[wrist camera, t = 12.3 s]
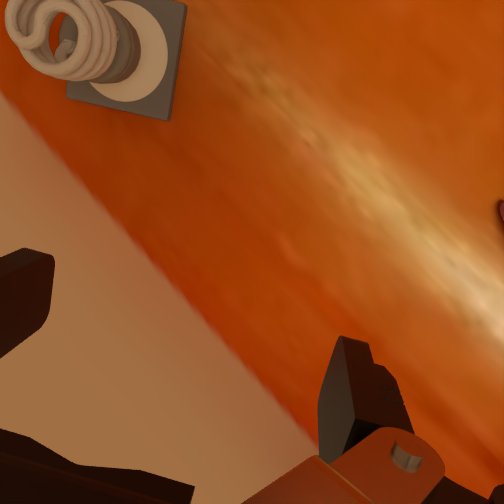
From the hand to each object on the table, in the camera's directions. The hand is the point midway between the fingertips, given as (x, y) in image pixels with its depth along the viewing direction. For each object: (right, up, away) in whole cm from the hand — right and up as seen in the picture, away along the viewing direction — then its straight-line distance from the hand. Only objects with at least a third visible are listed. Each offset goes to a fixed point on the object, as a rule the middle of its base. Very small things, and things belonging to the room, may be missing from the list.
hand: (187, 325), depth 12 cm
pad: (-9, +18, +25) cm, 32 cm away
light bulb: (-9, +18, +24) cm, 32 cm away
